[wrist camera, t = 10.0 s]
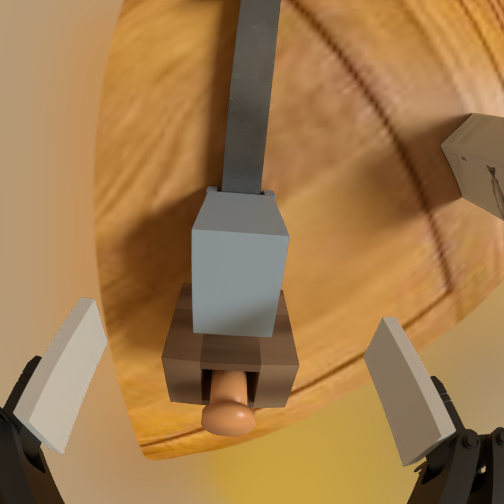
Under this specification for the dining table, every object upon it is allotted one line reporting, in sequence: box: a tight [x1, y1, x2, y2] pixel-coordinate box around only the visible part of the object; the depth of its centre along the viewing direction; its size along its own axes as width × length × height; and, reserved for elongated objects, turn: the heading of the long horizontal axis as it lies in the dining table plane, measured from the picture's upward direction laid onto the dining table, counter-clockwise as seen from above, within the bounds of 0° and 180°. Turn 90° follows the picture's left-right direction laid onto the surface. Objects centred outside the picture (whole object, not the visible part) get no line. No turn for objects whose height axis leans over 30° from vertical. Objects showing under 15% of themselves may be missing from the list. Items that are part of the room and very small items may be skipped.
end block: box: [162, 284, 299, 408], centre depth 25 cm, size 6×10×10 cm, turn 85°
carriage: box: [192, 186, 289, 337], centre depth 20 cm, size 7×5×10 cm
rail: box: [222, 0, 281, 195], centre depth 19 cm, size 30×5×4 cm, turn 175°
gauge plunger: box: [201, 370, 255, 436], centre depth 20 cm, size 4×4×6 cm
